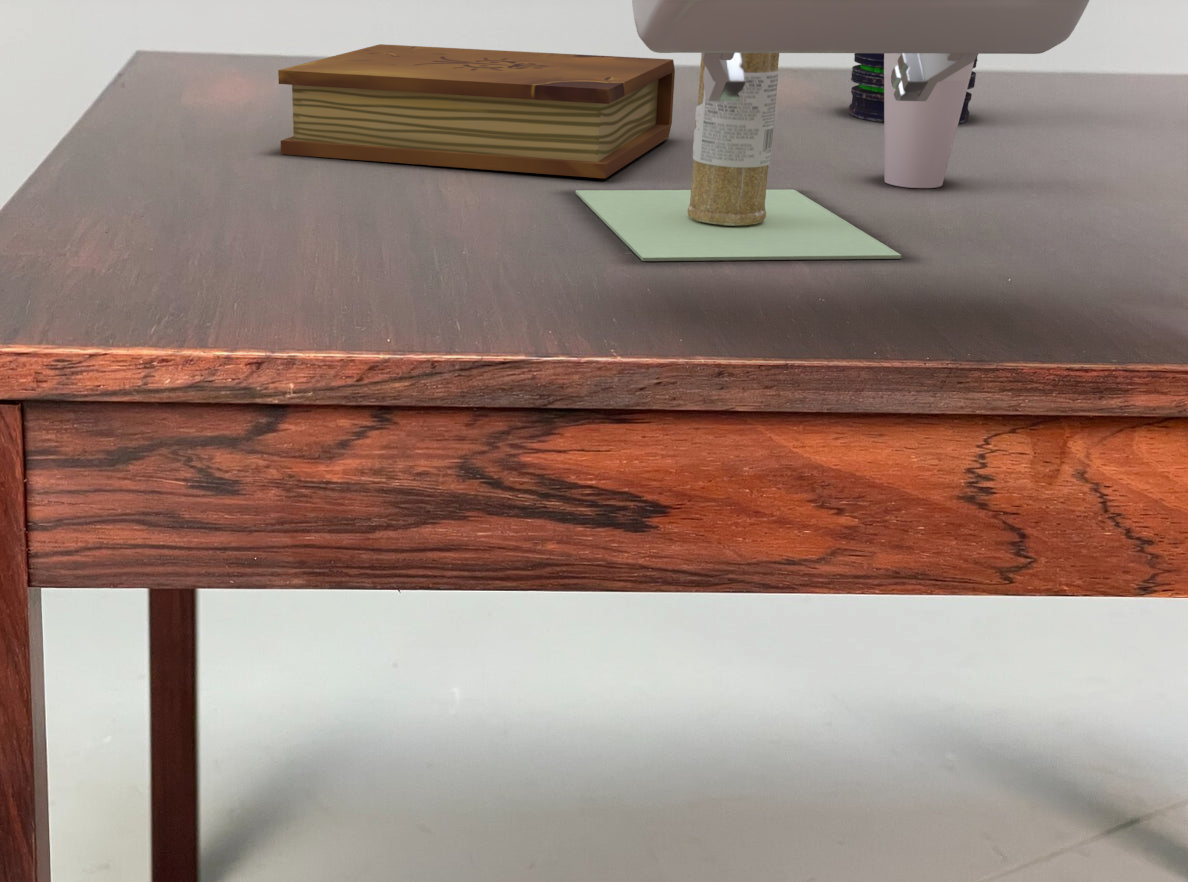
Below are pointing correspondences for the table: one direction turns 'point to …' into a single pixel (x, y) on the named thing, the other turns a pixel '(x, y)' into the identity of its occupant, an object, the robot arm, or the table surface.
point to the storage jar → (881, 88)
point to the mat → (730, 229)
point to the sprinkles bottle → (735, 147)
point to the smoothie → (921, 129)
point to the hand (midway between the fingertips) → (813, 90)
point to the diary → (481, 108)
